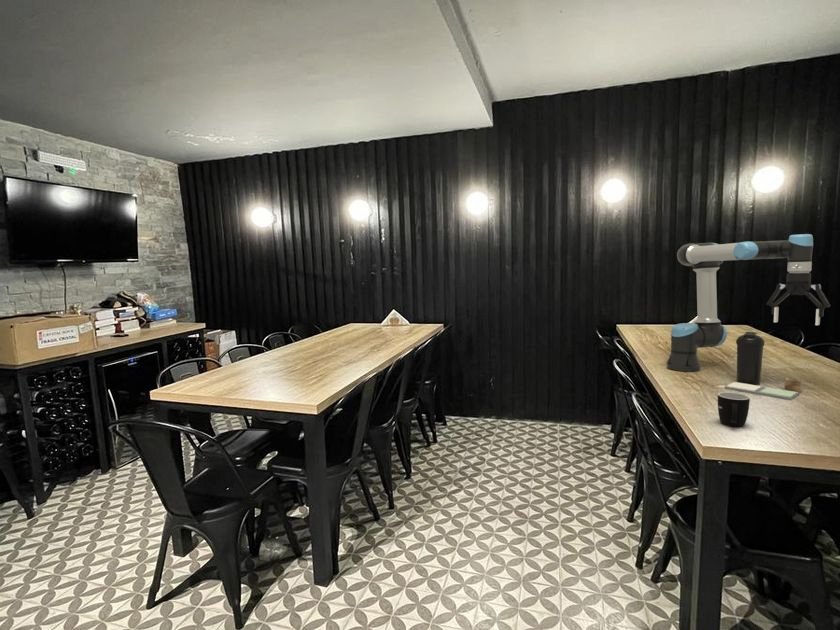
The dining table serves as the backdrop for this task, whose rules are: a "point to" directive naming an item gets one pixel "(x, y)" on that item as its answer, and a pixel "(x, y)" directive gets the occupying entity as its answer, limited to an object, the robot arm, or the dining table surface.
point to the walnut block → (792, 384)
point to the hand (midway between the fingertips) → (795, 323)
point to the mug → (733, 408)
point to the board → (762, 390)
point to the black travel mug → (749, 358)
